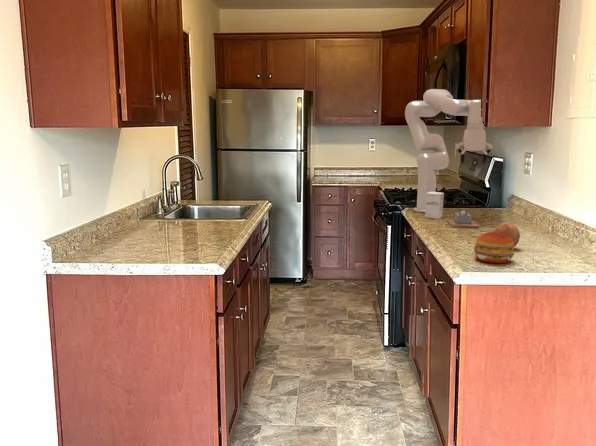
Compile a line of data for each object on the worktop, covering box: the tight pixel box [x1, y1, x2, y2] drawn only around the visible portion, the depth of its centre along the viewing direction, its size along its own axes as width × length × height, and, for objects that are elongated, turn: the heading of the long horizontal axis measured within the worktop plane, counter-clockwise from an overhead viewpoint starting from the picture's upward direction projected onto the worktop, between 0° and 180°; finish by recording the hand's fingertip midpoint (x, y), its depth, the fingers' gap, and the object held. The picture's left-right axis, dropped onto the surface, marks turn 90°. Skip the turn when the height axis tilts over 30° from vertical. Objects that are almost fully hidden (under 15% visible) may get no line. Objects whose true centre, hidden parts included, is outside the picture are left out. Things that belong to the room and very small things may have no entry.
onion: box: [493, 222, 521, 247], centre depth 210 cm, size 10×10×10 cm
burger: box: [473, 231, 515, 264], centre depth 191 cm, size 14×14×10 cm
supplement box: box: [424, 191, 445, 220], centre depth 277 cm, size 7×7×13 cm
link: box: [453, 212, 473, 224], centre depth 258 cm, size 8×6×4 cm
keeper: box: [446, 210, 480, 229], centre depth 258 cm, size 16×12×6 cm
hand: (473, 162), depth 263 cm, fingers open, 9 cm apart
